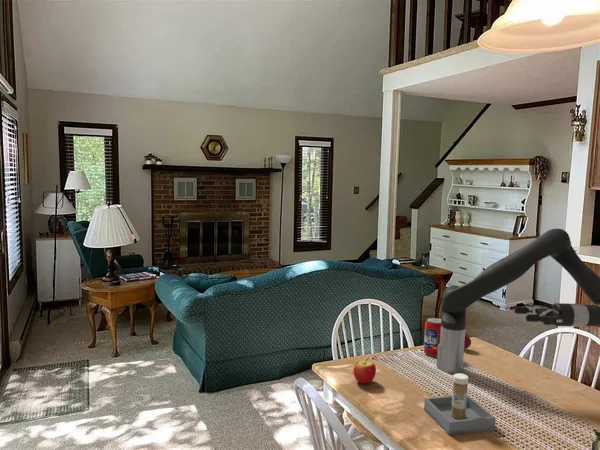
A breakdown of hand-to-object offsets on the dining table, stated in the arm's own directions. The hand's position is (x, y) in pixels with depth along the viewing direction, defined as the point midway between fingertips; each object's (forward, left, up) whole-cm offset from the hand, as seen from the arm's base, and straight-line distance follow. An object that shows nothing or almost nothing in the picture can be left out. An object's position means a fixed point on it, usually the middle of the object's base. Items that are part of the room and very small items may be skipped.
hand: (520, 313), depth 161 cm
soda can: (-41, +25, -32) cm, 58 cm away
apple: (-48, -19, -32) cm, 60 cm away
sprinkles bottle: (-11, -22, -31) cm, 39 cm away
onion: (-33, +39, -32) cm, 60 cm away
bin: (-11, -22, -32) cm, 40 cm away
